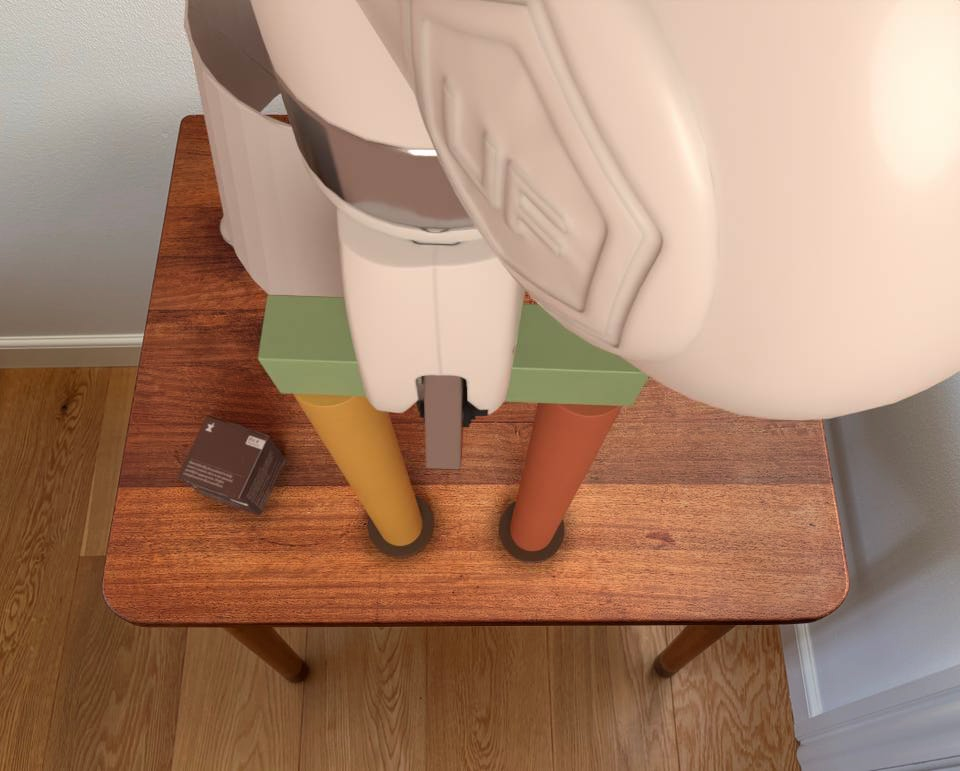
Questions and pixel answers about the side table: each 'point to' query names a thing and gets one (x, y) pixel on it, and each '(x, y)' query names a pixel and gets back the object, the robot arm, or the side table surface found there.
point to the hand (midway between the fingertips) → (456, 368)
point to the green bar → (535, 372)
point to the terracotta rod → (552, 476)
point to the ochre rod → (372, 470)
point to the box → (232, 465)
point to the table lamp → (259, 158)
